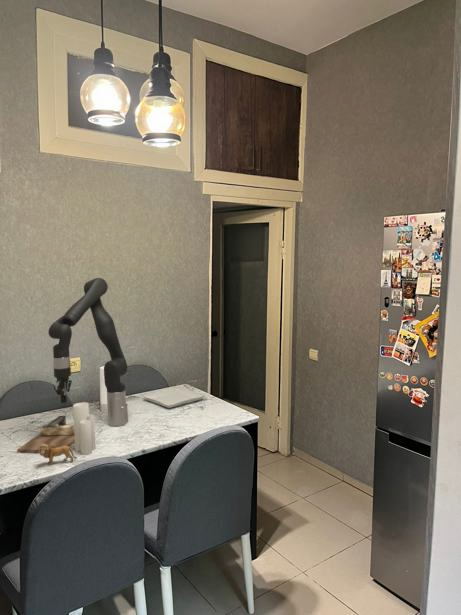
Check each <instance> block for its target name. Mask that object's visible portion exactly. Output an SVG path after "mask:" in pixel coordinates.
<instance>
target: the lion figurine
mask: <svg viewBox="0 0 461 615" xmlns="http://www.w3.org/2000/svg"><path fill="white" fill-rule="evenodd" d="M38 454H39V456H41V457H44V458H45V459H48V462H47V463H48V464H49V465H48V466H50V465H51V466H53V464H54V458H55V457H60V456H62V455H64V456H65V458H64V459H63V461H67V460H68V458H69V459H70V460H69V462H70V463H73V462H74V459H75V460H76V459H78V457H77V456H75V455H74V452H73V450H72V448H71V446H70V447H68V446H62V447H58V448H56V447H54V446H52V445H48V444H42V445H40V446H39V453H38Z"/></svg>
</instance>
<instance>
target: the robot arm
mask: <svg viewBox="0 0 461 615" xmlns="http://www.w3.org/2000/svg"><path fill="white" fill-rule="evenodd" d="M108 288H109V287H108V282H107V281H106V280H105V279H104V278H101V277H95V278H94V279H91V280H88V281H87V282H85V284H84V285H83V292H84V295H83V296H81V298H79V299H78V300H76V302H74V303H73V304H72V305H71V306H70V307H69V309H68V310H67V311H66V312H65V313H64V315H63V316H60V318H58V319H57V320H55V321H54V322H52V324H51V325H50V326H49V329H48V335H49V337H50V338H52V339H53V340H58V343H57V344H54V345H53V347H52V352H53V362H52V363H53V364H52V366H53V377H54V378H56V385H55V386H53V389H54V392H55V393H56V395H57V396H59V397H60V403H61V404H65V403H67V402H68V396H67V395H68V393H69V392H70V390H71V385H72V383H73V382H72V381H73V380H72V379H70V378H69V377H71V376H72V370H71V369H72V367H71V365H72V364H71V358H70V345H71V340H72V335H73V331H72V327H73V326H75V325H77V323H79V322H80V321H81V319H82V317H83V316H84V315H85V314H86V313H87V311H89V309H90V311H91V315H92V319H93V322H94V326H95V329H96V333H97V337H98V338H99V340H100V342H102V344H103V345H104V346H105V347H106V349H107V350H108V353H109V356H110V359H111V360H109V361H107V362H105V363H104V367H103V376H104V377H103V379H104V380H103V381H104V386H105V388H106V400H107V401H106V402H107V403H106V404H107V405H106V406H107V424H108V425H109V426H111V427H120V426H125V425H126V424H127V423H128V422H129V414H128V413H129V412H128V409H129V408H128V403H127V399H126V398H127V396H126V395H127V394H126V393H127V392H126V384H125V383H122V382H121V377H122V376H124V375H126V373H127V372H128V362H127V359H126V358H125V355H124V352H123V349H122V347H121V344H120V341H119V337H118V333H117V329H116V325H115V322H114V319H113V318H112V316H111V315H110V314H109V312H108V311H107V310H106V309H105V307H104V306H103V303H102V299H101V298H102V296H104V295H105V294H106V293H107V291H108Z"/></svg>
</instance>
